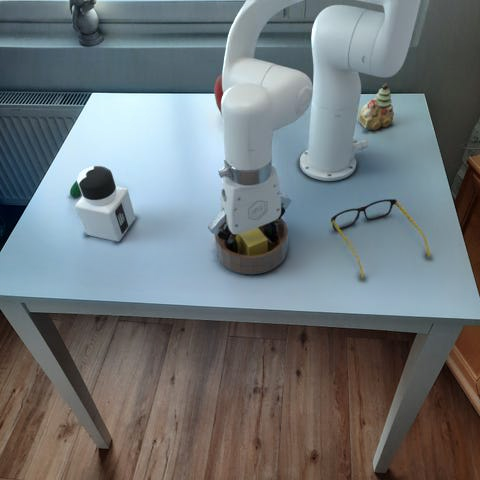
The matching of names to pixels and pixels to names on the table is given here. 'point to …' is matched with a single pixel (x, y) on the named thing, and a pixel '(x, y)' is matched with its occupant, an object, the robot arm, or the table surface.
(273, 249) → the bowl
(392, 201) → the eyeglasses
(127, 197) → the container
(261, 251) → the cheese
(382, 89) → the ornament
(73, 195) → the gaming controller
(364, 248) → the table surface
